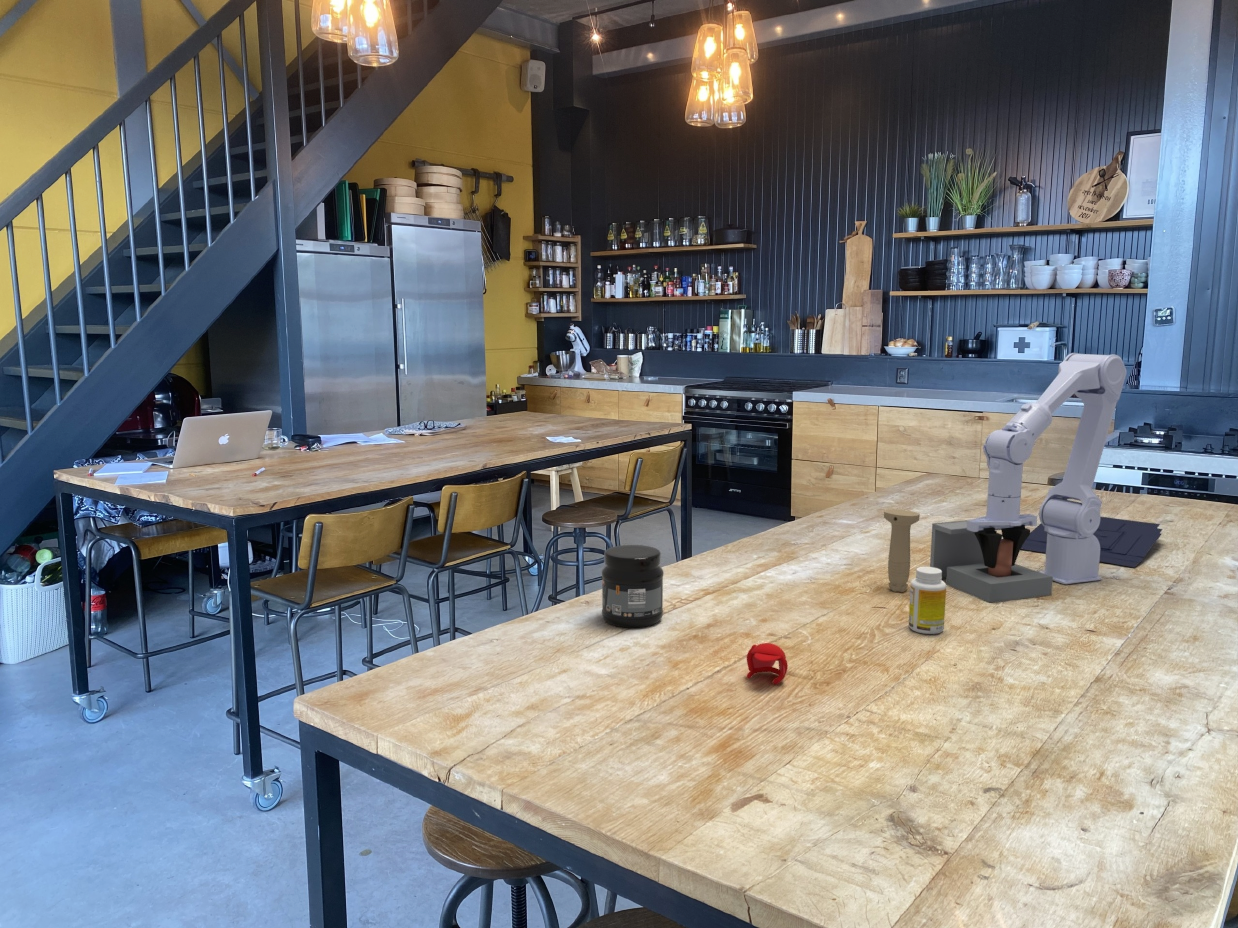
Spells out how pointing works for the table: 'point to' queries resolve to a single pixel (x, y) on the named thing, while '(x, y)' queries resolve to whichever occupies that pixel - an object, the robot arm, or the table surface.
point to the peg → (1003, 559)
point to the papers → (1110, 540)
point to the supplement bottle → (927, 601)
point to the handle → (899, 547)
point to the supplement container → (632, 586)
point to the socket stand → (980, 567)
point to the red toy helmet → (767, 660)
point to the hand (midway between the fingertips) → (999, 565)
